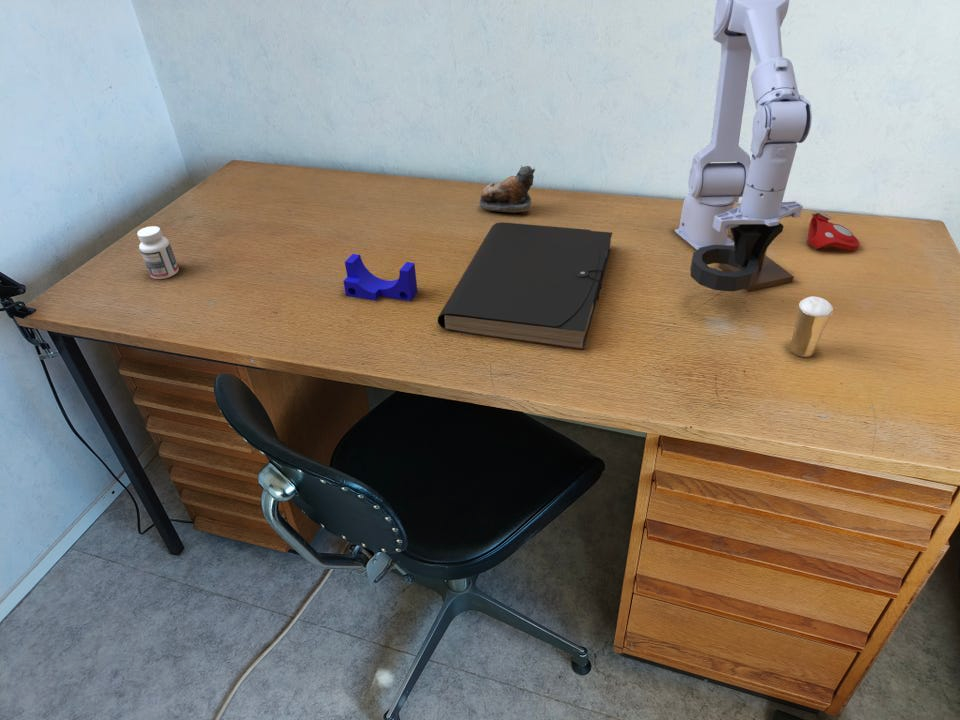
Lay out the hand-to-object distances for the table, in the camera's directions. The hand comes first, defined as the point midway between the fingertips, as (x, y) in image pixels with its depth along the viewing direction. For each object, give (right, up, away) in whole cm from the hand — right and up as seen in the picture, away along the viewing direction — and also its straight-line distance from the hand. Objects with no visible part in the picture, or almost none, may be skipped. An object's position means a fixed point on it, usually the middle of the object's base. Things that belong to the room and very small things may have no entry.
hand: (746, 262), depth 108 cm
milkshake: (+6, -15, -7) cm, 17 cm away
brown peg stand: (+6, 0, +11) cm, 13 cm away
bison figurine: (-38, +16, +35) cm, 54 cm away
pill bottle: (-104, +1, +19) cm, 105 cm away
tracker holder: (+24, +7, +20) cm, 33 cm away
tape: (-4, -2, 0) cm, 4 cm away
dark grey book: (-34, -3, +11) cm, 36 cm away
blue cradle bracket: (-61, -4, +10) cm, 62 cm away
